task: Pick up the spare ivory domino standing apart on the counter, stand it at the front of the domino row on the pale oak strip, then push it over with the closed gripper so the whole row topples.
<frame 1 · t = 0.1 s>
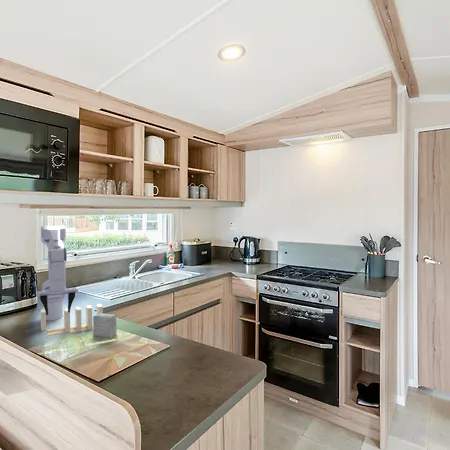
hand: (58, 313, 132), 10 cm above the countertop, fingers open, 7 cm apart
domino 4: (89, 326, 144), point 1 cm above the countertop, touching oak strip
domino 2: (67, 329, 139), point 1 cm above the countertop, touching oak strip
oak strip: (78, 329, 142), on the countertop
domino 3: (78, 327, 142), point 1 cm above the countertop, touching oak strip
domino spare: (43, 330, 141), on the countertop
domino 5: (99, 324, 146), point 1 cm above the countertop, touching oak strip
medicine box: (105, 337, 134), on the countertop
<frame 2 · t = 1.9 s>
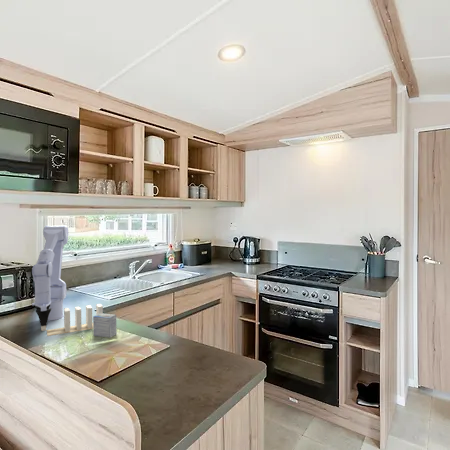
hand: (43, 323, 141), 3 cm above the countertop, fingers closed on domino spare, 5 cm apart
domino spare: (43, 330, 141), on the countertop, touching gripper
everything else where it was.
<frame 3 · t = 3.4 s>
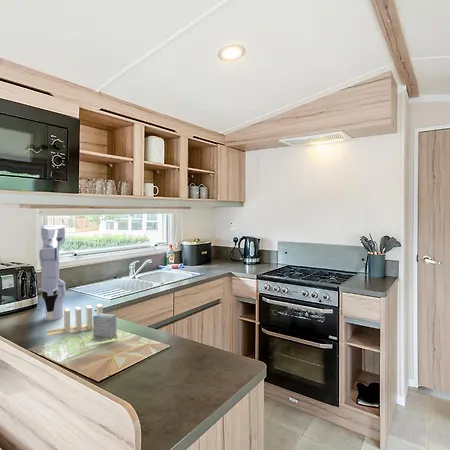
hand: (49, 309, 136), 10 cm above the countertop, fingers closed on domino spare, 5 cm apart
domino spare: (49, 317, 136), point 7 cm above the countertop, touching gripper
everything else where it was.
when the fingers open (4 cm above the countertop, at t = 5.0 s): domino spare stays where it is, resting on oak strip.
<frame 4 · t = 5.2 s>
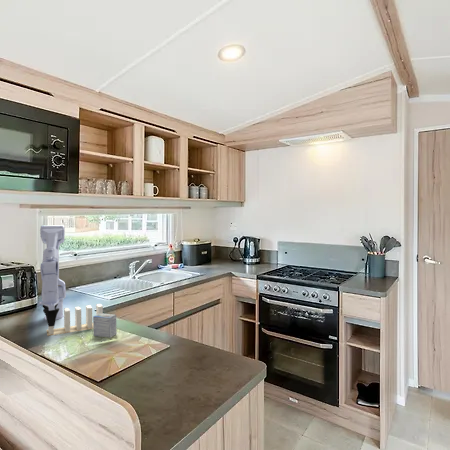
hand: (50, 323, 136), 4 cm above the countertop, fingers open, 6 cm apart
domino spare: (51, 332, 136), point 1 cm above the countertop, touching oak strip
everything else where it was.
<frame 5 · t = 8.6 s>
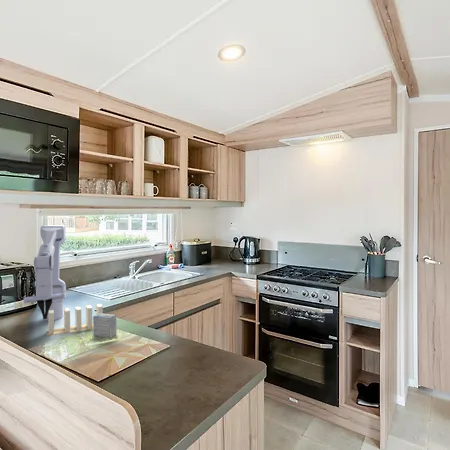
hand: (45, 318, 135), 7 cm above the countertop, fingers closed
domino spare: (51, 332, 136), point 1 cm above the countertop, touching gripper, oak strip
everything else where it was.
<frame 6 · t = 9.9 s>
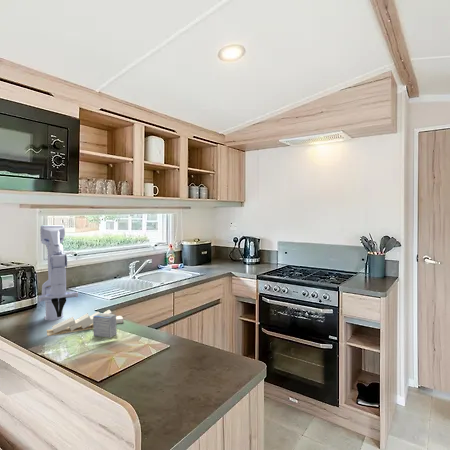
hand: (59, 316, 138), 7 cm above the countertop, fingers closed
domino 4: (92, 323, 144), point 2 cm above the countertop, tilted 65°, touching domino 3, domino 5
domino 2: (69, 327, 140), point 2 cm above the countertop, tilted 66°, touching domino 3, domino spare, oak strip
domino 3: (81, 325, 142), point 2 cm above the countertop, tilted 65°, touching domino 2, domino 4, oak strip
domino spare: (53, 330, 137), point 2 cm above the countertop, tilted 71°, touching domino 2, oak strip
domino 5: (102, 322, 146), point 2 cm above the countertop, tilted 90°, touching domino 4, oak strip
everything else where it was.
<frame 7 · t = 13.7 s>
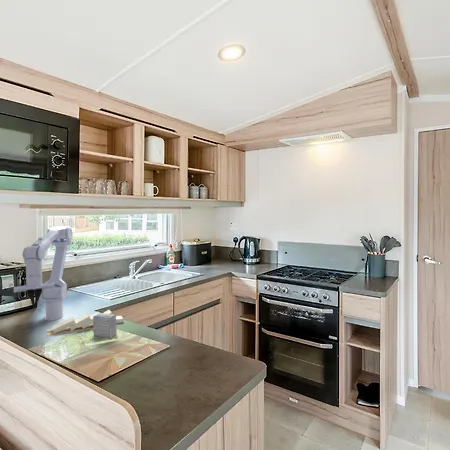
hand: (34, 307, 138), 10 cm above the countertop, fingers closed
nothing on the countertop moved.
at the end: domino 5 tilted 90°; domino 3 tilted 65°; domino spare tilted 71° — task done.
